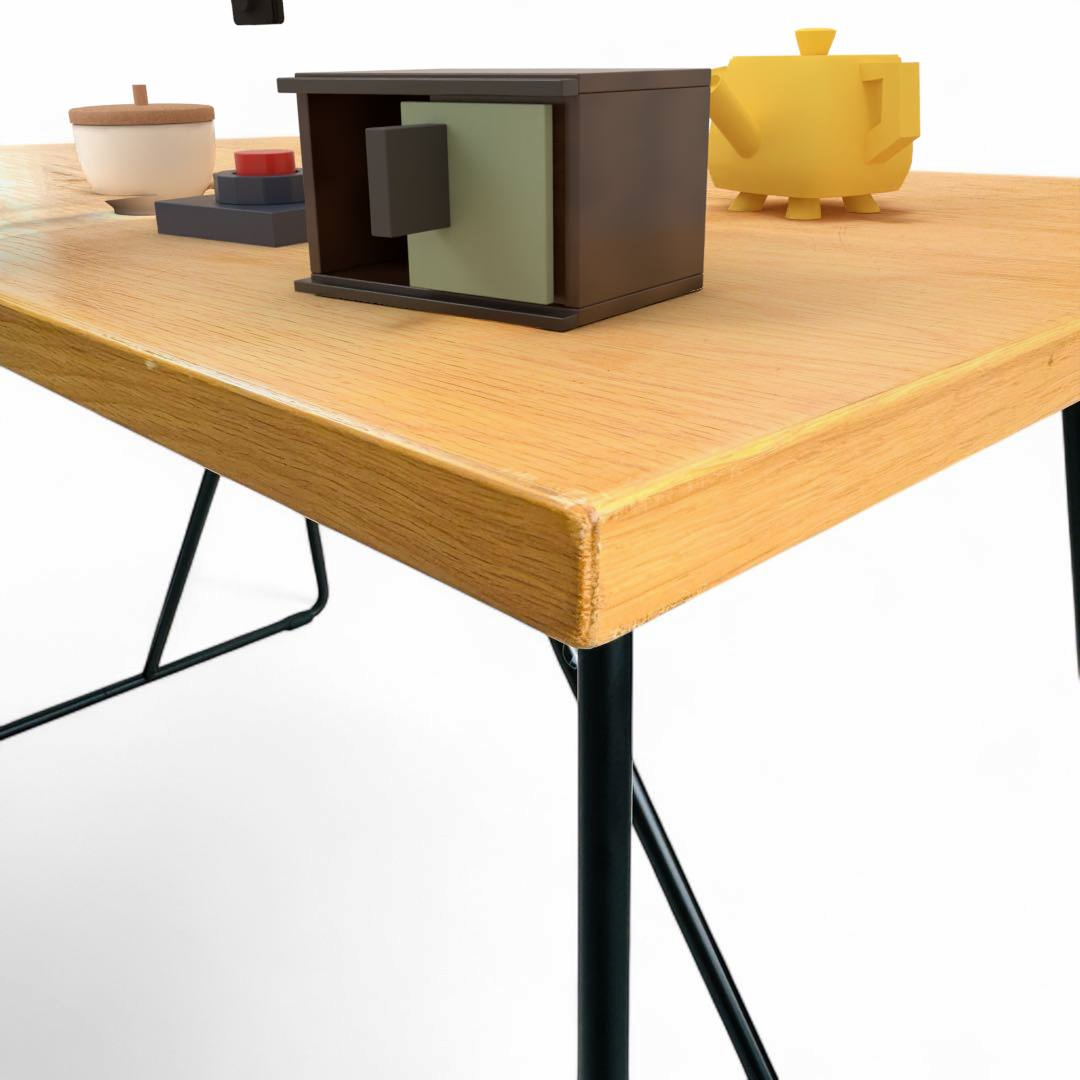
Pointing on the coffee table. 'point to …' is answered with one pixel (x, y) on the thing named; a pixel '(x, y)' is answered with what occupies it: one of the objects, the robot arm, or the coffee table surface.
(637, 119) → the cupboard
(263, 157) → the button
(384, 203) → the sliding door
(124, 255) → the coffee table surface
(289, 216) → the control block
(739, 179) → the teapot
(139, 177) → the trinket box
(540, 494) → the coffee table surface
